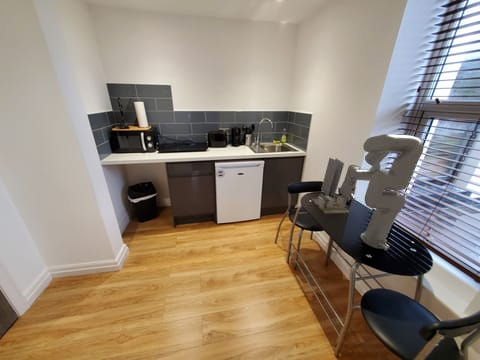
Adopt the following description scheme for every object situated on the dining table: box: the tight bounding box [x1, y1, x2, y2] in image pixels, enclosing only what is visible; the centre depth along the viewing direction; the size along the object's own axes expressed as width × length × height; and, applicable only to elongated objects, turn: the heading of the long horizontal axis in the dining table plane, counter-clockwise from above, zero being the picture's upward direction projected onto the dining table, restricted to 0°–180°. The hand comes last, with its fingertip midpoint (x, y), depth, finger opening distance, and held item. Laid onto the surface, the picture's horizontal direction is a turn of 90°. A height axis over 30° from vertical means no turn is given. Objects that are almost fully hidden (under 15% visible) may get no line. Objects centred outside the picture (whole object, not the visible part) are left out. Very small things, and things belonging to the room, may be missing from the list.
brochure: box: [321, 157, 345, 198], centre depth 156 cm, size 14×6×30 cm, turn 179°
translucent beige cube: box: [336, 195, 350, 207], centre depth 142 cm, size 6×6×6 cm
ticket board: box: [311, 197, 350, 215], centre depth 141 cm, size 19×19×1 cm
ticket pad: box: [317, 193, 335, 209], centre depth 139 cm, size 10×9×7 cm
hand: (343, 202), depth 142 cm, fingers open, 9 cm apart
